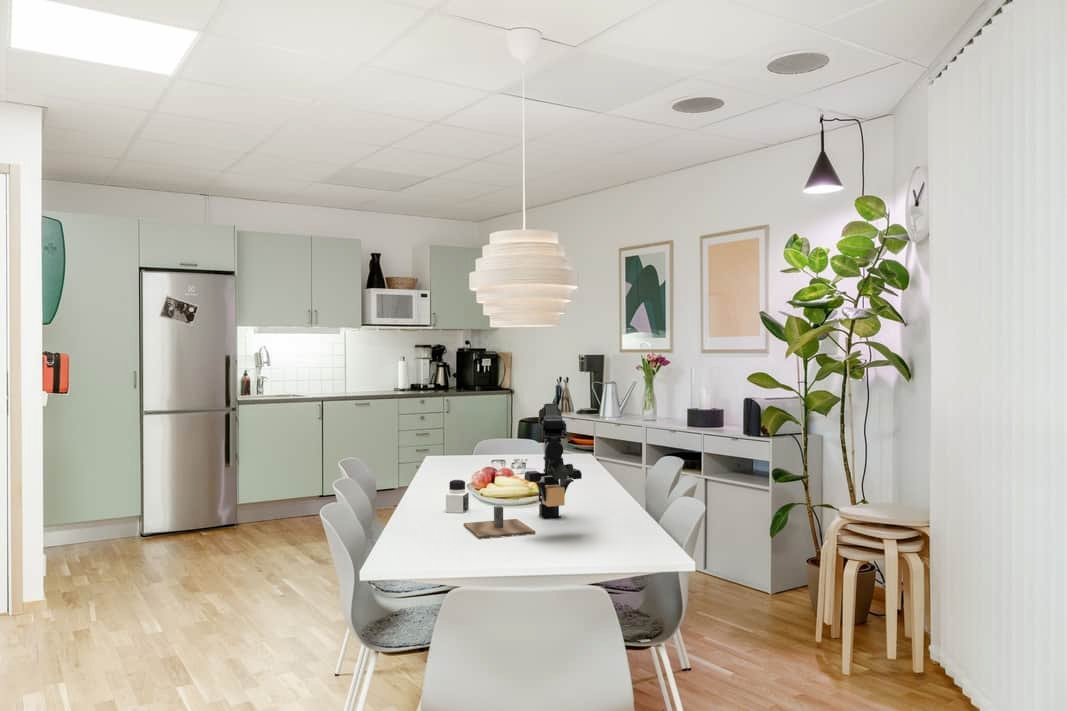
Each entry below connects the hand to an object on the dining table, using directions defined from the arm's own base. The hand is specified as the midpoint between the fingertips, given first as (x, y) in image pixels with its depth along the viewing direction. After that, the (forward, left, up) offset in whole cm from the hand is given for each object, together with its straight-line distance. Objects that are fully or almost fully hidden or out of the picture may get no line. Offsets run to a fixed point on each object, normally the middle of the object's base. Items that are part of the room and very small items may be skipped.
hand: (553, 500), depth 261 cm
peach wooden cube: (0, 0, -1) cm, 1 cm away
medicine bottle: (+21, -50, -12) cm, 55 cm away
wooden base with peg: (+15, -15, -12) cm, 24 cm away
